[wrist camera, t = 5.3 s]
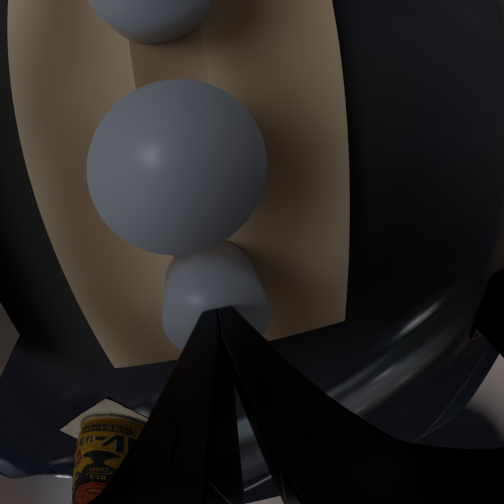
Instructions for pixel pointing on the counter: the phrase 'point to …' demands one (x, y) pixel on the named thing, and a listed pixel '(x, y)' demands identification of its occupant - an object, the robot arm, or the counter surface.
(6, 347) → the white flat bar
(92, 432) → the condiment
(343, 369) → the counter surface
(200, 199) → the button mid
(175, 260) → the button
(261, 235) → the board
